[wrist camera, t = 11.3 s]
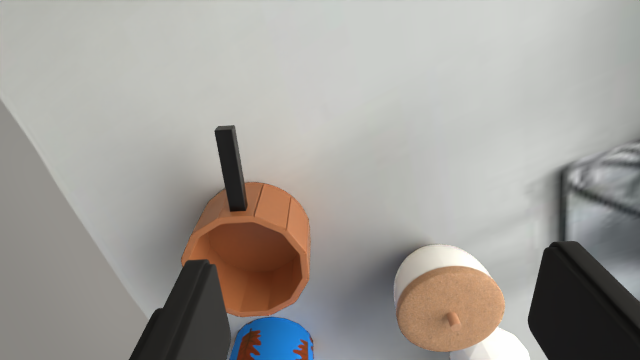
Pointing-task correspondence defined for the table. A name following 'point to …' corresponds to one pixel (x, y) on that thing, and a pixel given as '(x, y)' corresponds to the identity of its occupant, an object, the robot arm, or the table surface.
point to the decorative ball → (494, 348)
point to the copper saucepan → (252, 239)
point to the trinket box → (446, 299)
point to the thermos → (272, 341)
